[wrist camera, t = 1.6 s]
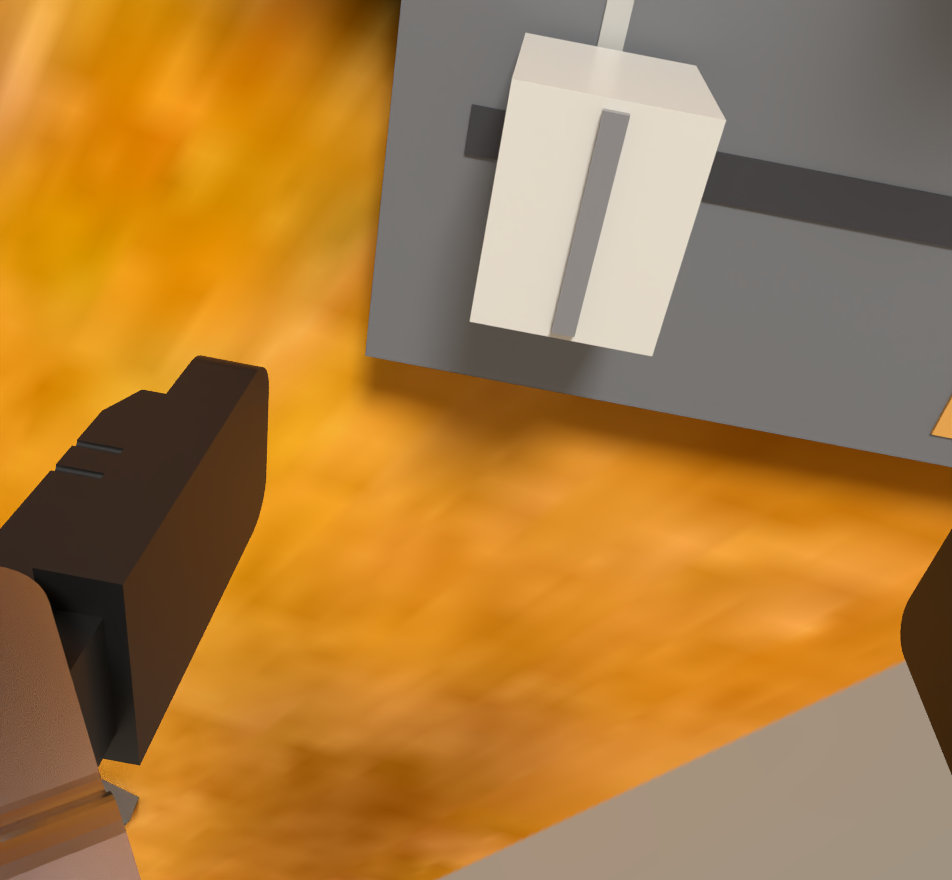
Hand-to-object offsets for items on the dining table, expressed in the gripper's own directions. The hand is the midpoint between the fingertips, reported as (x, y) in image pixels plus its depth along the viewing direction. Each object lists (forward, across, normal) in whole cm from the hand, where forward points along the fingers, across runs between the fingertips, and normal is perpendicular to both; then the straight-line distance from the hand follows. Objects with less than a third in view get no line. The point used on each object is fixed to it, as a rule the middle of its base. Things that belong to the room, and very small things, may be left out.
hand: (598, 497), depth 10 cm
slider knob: (+14, 0, 0) cm, 14 cm away
